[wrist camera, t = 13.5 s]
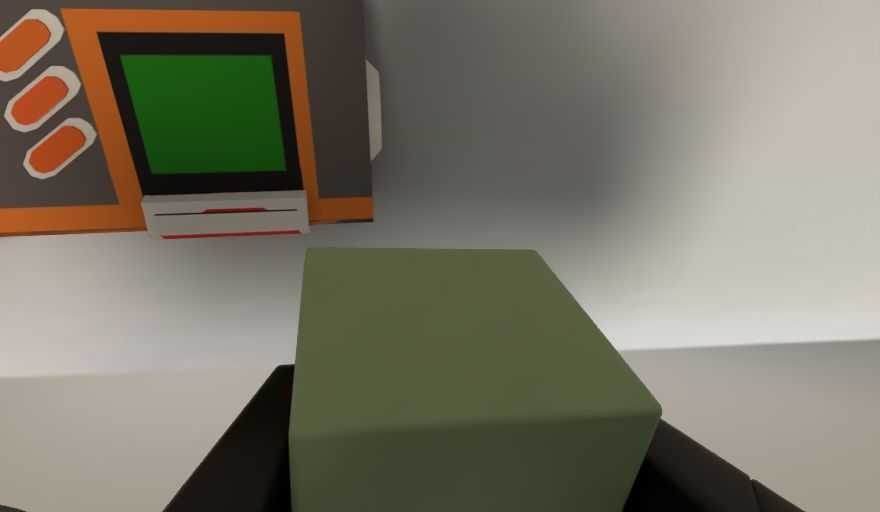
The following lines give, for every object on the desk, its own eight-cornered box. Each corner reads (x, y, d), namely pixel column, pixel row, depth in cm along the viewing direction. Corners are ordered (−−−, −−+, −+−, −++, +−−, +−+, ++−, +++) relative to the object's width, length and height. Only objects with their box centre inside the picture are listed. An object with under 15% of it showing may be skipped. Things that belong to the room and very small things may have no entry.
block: (536, 247, 9) (668, 409, 5) (500, 414, 11) (583, 616, 7) (305, 244, 8) (287, 434, 5) (307, 427, 10) (296, 665, 6)
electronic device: (-356, -28, 10) (377, -13, 12) (-212, -25, 13) (374, -13, 15) (-172, 259, 13) (385, 235, 15) (-86, 215, 16) (382, 199, 18)
